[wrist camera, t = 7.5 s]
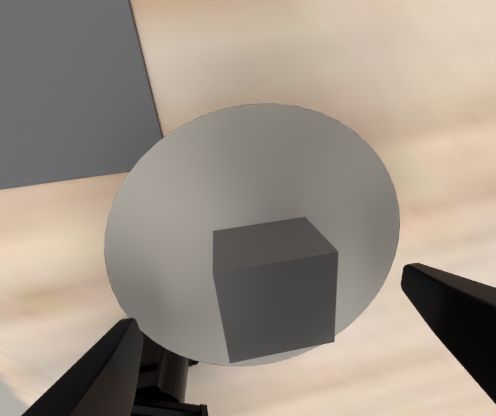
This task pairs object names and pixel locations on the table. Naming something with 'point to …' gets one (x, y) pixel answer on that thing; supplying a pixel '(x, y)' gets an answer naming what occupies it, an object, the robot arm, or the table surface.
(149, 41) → the table surface
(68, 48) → the charcoal mat
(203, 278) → the lid
